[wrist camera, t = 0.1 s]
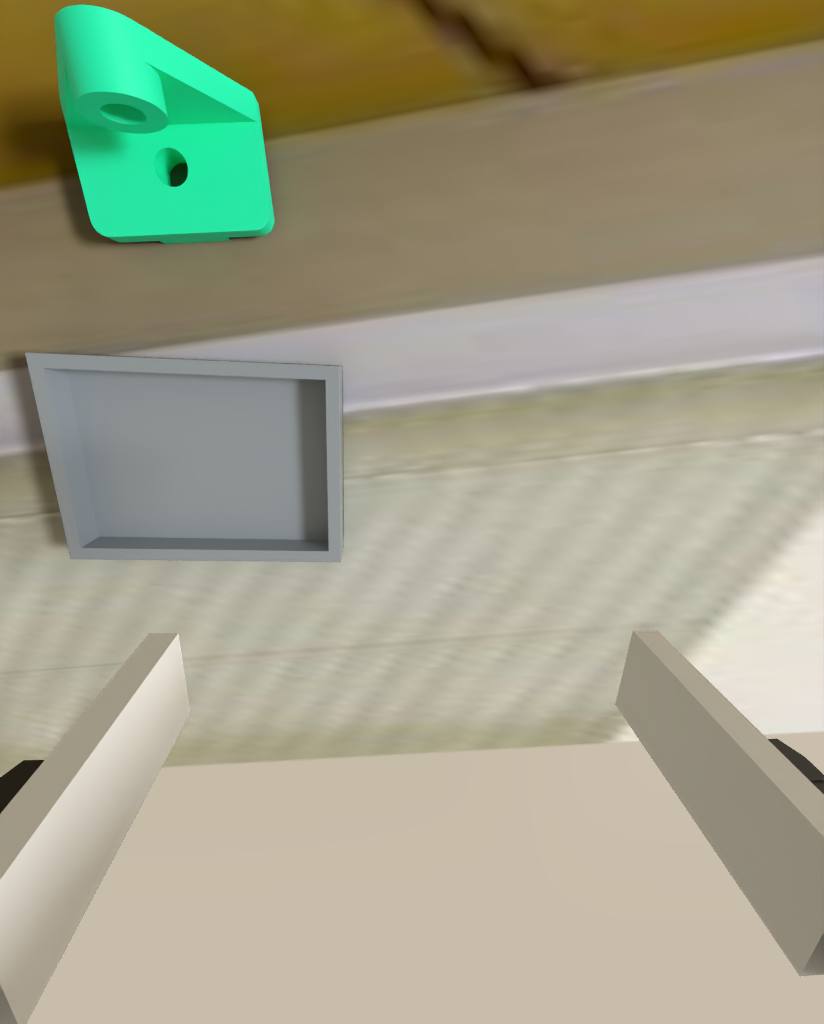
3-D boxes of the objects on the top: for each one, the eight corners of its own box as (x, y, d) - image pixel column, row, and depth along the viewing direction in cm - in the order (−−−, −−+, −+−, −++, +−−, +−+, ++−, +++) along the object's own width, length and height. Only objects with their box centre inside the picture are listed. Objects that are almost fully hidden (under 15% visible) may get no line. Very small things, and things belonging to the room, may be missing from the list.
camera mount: (116, 246, 33) (5, 200, 23) (85, 119, 30) (-53, 8, 21) (279, 238, 34) (238, 190, 24) (262, 113, 31) (209, 1, 21)
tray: (58, 353, 35) (24, 352, 32) (342, 365, 36) (338, 366, 33) (96, 542, 40) (70, 559, 37) (343, 546, 42) (340, 562, 38)
